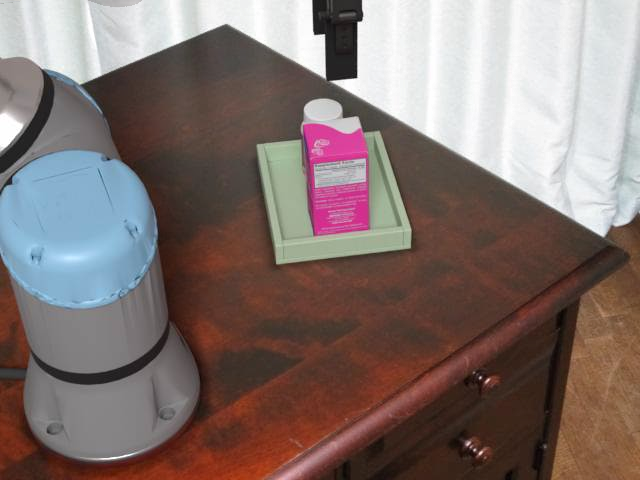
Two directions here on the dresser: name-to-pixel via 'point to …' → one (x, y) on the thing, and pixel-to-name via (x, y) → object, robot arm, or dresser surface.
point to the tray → (293, 218)
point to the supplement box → (336, 176)
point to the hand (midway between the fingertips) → (334, 53)
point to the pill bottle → (319, 116)
